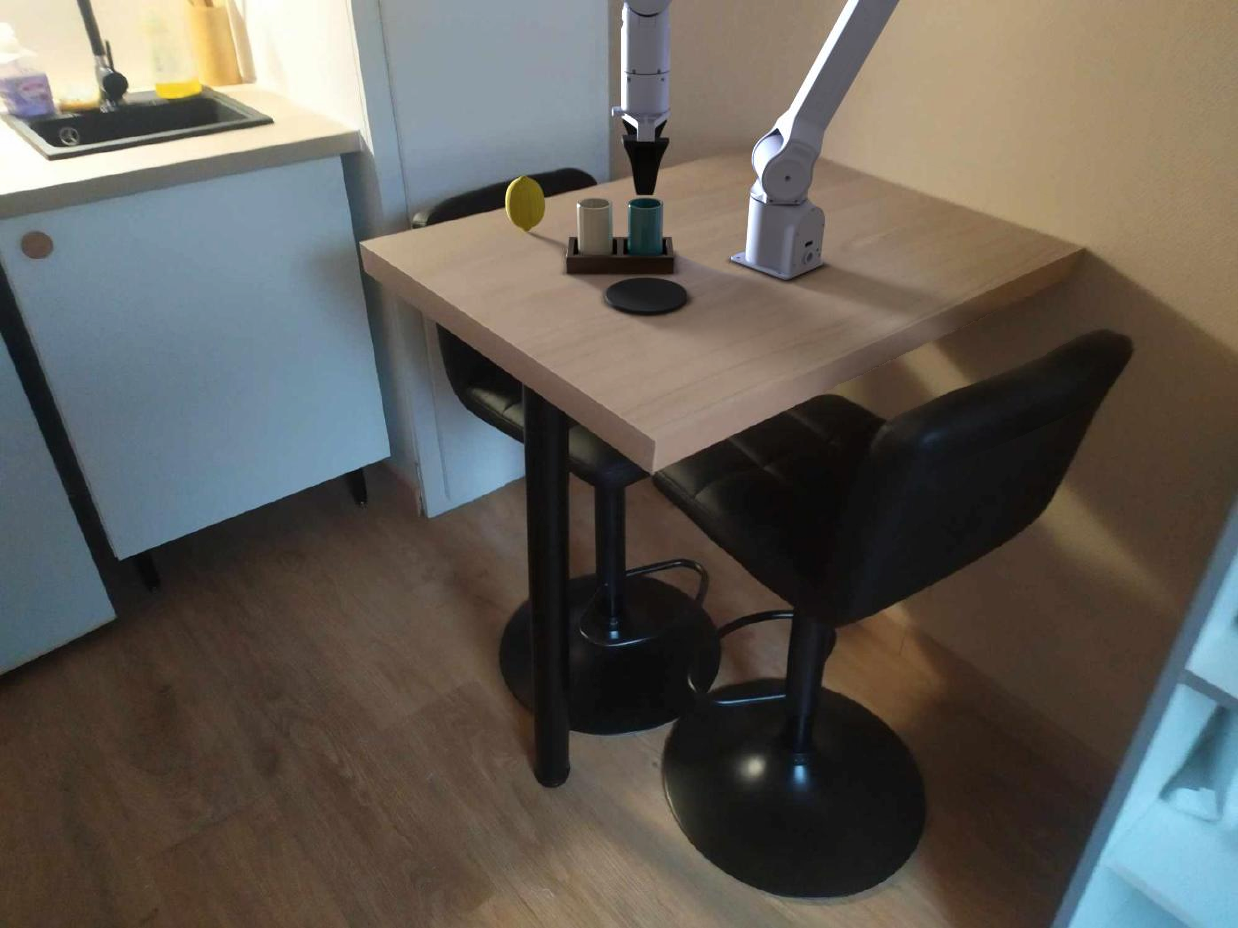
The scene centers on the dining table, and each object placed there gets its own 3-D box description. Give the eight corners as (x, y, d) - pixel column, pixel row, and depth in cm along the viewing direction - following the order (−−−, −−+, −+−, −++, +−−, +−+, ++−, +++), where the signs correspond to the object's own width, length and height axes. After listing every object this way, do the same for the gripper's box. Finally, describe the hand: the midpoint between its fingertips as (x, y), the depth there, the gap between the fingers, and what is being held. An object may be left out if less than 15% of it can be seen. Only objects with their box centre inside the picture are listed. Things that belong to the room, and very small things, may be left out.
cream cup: (619, 263, 122) (619, 203, 118) (594, 272, 120) (593, 211, 115) (597, 253, 125) (596, 195, 120) (571, 262, 122) (569, 203, 118)
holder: (673, 273, 119) (674, 257, 118) (566, 273, 119) (566, 257, 118) (671, 252, 125) (671, 236, 124) (569, 252, 125) (569, 236, 124)
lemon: (540, 240, 129) (537, 183, 125) (502, 237, 130) (498, 180, 126) (550, 226, 134) (548, 170, 129) (513, 223, 135) (510, 168, 130)
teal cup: (668, 263, 122) (670, 203, 118) (644, 272, 120) (645, 211, 115) (645, 253, 125) (646, 195, 120) (620, 262, 122) (620, 203, 118)
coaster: (704, 298, 113) (704, 294, 113) (645, 322, 107) (645, 318, 107) (647, 274, 119) (647, 270, 119) (588, 296, 113) (588, 292, 113)
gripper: (612, 57, 115) (613, 167, 122) (610, 83, 103) (611, 203, 111) (669, 57, 115) (666, 167, 122) (674, 83, 103) (670, 203, 110)
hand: (644, 184), depth 116 cm, fingers open, 7 cm apart
